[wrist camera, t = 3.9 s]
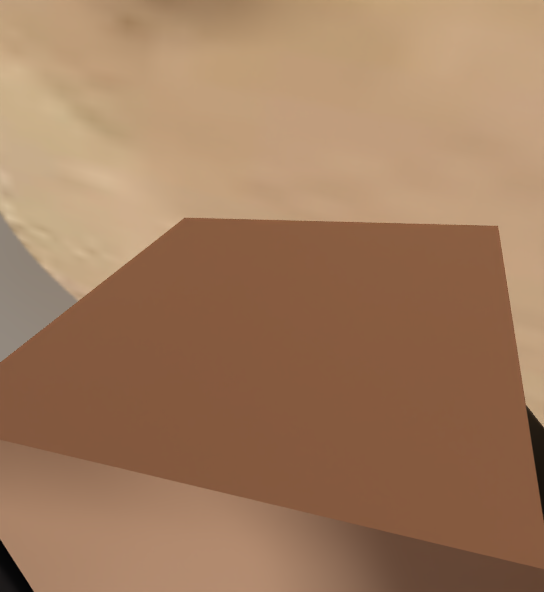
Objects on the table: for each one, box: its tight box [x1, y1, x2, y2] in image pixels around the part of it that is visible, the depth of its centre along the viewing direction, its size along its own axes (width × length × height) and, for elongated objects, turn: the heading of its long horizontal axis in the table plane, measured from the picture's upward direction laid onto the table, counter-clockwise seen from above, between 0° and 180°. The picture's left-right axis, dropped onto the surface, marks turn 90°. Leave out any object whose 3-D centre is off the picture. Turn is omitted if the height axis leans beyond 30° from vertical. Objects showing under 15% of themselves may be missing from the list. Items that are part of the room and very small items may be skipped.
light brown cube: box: [0, 218, 544, 592], centre depth 7 cm, size 5×5×5 cm
